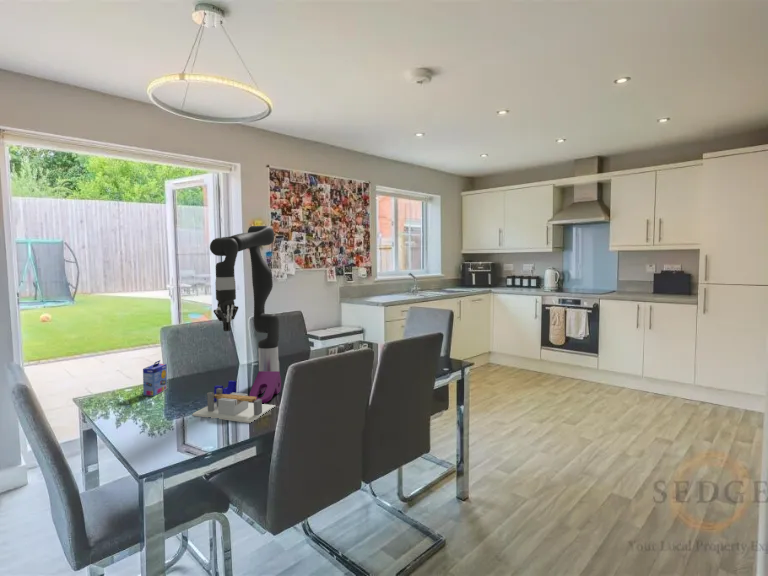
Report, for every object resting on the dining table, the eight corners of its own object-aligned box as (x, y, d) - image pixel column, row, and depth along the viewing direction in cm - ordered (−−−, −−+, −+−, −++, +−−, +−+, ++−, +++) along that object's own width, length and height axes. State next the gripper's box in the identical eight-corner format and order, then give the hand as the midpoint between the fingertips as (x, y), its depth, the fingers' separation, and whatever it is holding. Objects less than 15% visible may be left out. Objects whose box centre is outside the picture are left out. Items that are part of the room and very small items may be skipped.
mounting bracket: (272, 415, 179) (282, 385, 194) (269, 400, 174) (279, 371, 190) (250, 415, 179) (261, 385, 195) (246, 400, 175) (258, 371, 190)
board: (221, 401, 179) (220, 382, 178) (275, 407, 171) (275, 387, 171) (192, 415, 163) (191, 395, 162) (250, 423, 155) (250, 401, 155)
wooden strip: (210, 398, 166) (210, 395, 166) (216, 395, 169) (216, 392, 169) (251, 402, 161) (251, 398, 161) (256, 399, 164) (256, 396, 164)
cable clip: (227, 393, 188) (227, 380, 188) (236, 394, 187) (236, 380, 188) (210, 400, 177) (211, 386, 177) (220, 401, 176) (220, 386, 176)
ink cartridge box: (154, 396, 185) (153, 363, 184) (142, 396, 186) (141, 363, 185) (168, 389, 195) (166, 358, 194) (156, 389, 196) (155, 358, 195)
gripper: (228, 286, 177) (229, 327, 178) (206, 289, 164) (208, 333, 166) (243, 287, 175) (245, 328, 176) (222, 289, 162) (224, 334, 163)
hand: (227, 330), depth 171 cm, fingers closed
